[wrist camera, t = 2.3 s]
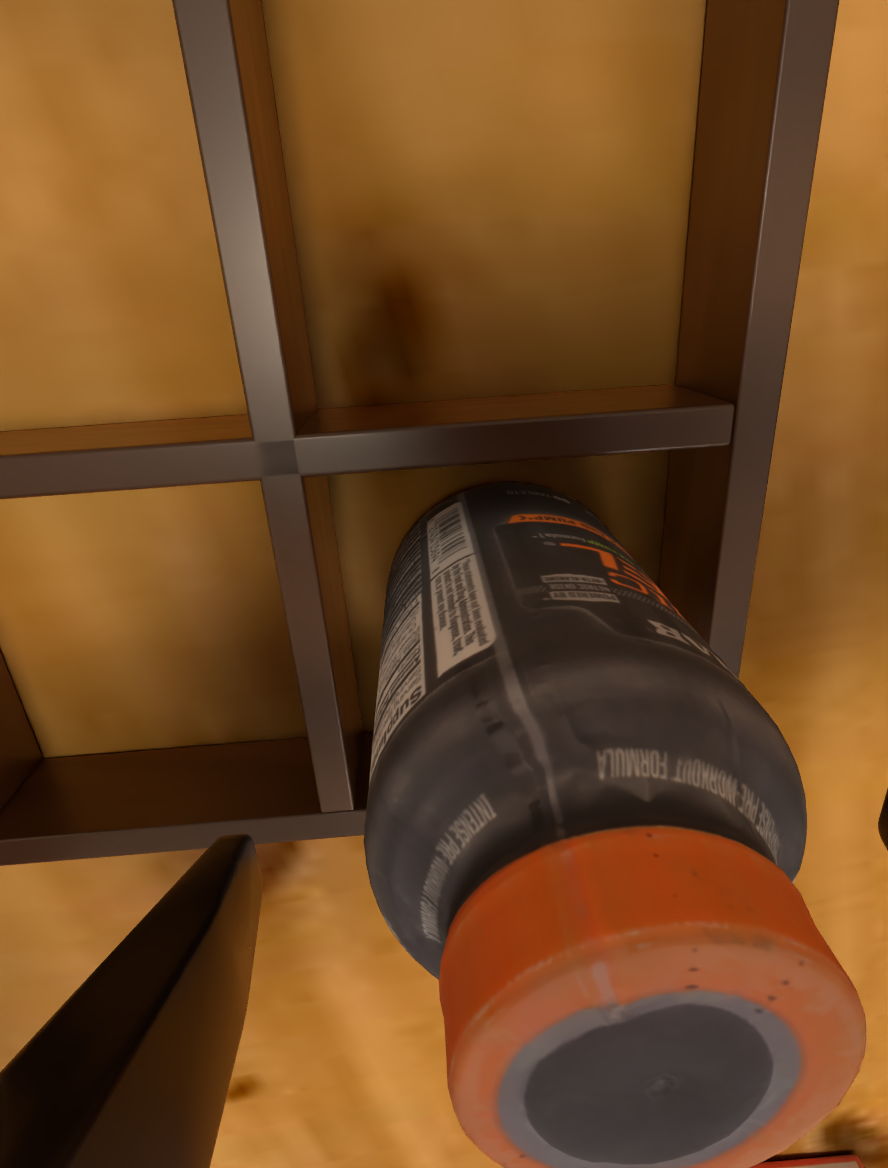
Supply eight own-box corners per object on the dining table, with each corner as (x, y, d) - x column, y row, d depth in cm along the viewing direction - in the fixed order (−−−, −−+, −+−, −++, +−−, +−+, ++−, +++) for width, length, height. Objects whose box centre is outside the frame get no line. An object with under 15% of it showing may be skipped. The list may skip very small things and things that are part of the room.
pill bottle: (667, 579, 16) (1113, 1065, 6) (506, 726, 18) (638, 1309, 8) (498, 423, 14) (718, 729, 4) (336, 602, 16) (205, 1145, 6)
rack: (673, 730, 18) (720, 806, 16) (23, 783, 18) (-46, 870, 15) (767, -164, 11) (889, -322, 8) (-350, -103, 10) (-622, -248, 8)
